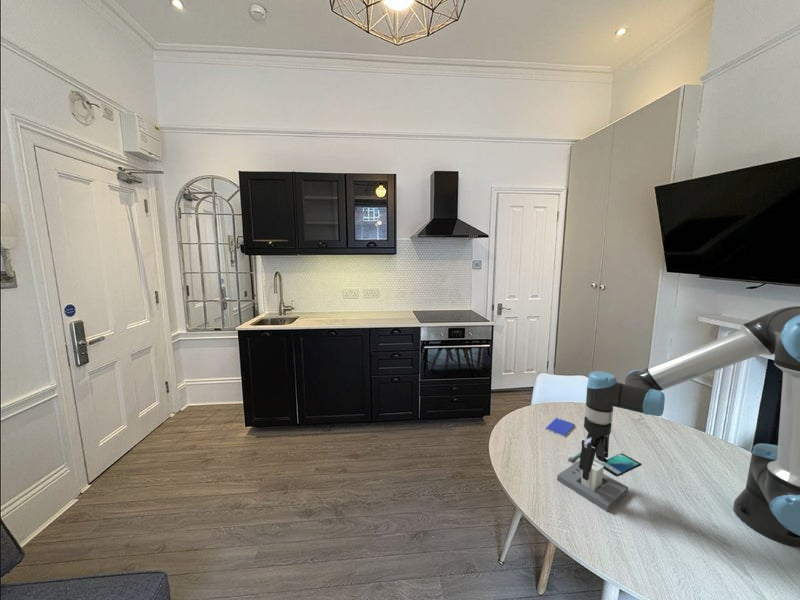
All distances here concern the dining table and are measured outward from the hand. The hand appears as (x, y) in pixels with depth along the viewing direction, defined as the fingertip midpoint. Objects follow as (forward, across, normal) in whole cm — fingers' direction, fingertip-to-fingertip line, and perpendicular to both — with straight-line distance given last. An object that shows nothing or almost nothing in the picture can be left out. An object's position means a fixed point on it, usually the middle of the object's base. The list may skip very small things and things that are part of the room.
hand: (591, 482), depth 107 cm
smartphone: (+2, -20, 0) cm, 20 cm away
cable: (+2, -13, -11) cm, 17 cm away
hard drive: (+2, -25, -26) cm, 36 cm away
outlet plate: (+2, 0, 0) cm, 2 cm away
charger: (+2, 0, 0) cm, 2 cm away
